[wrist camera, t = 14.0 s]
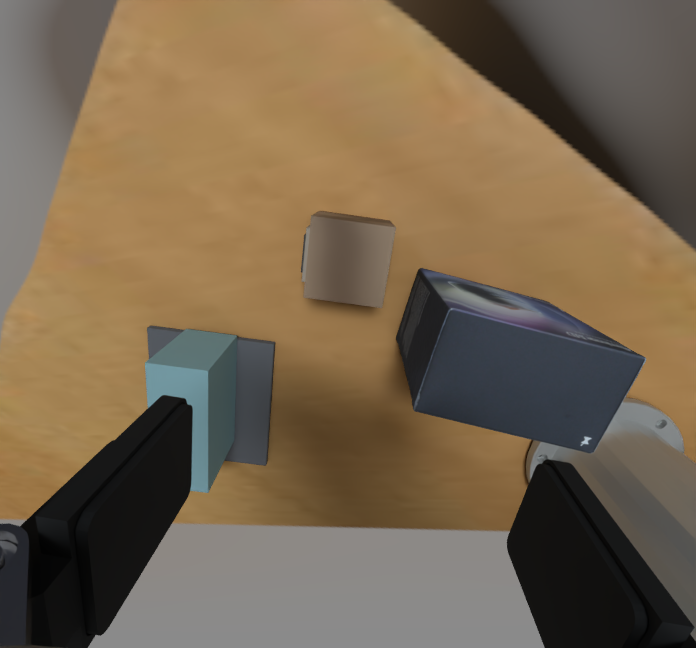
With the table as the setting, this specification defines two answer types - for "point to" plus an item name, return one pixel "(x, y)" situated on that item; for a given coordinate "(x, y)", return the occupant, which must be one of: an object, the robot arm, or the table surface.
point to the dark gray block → (241, 393)
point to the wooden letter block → (347, 258)
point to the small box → (511, 363)
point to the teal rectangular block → (200, 394)
